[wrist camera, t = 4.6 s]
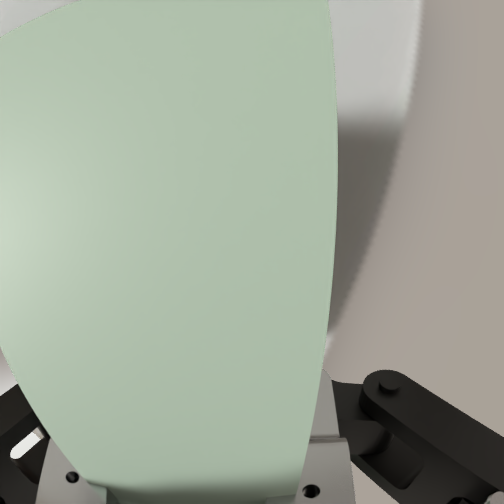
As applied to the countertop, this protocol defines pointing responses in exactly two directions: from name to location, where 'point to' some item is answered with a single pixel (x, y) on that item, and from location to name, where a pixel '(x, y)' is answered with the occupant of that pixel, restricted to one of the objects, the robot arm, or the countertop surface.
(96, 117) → the cabinet door
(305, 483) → the robot arm
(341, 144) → the countertop surface
